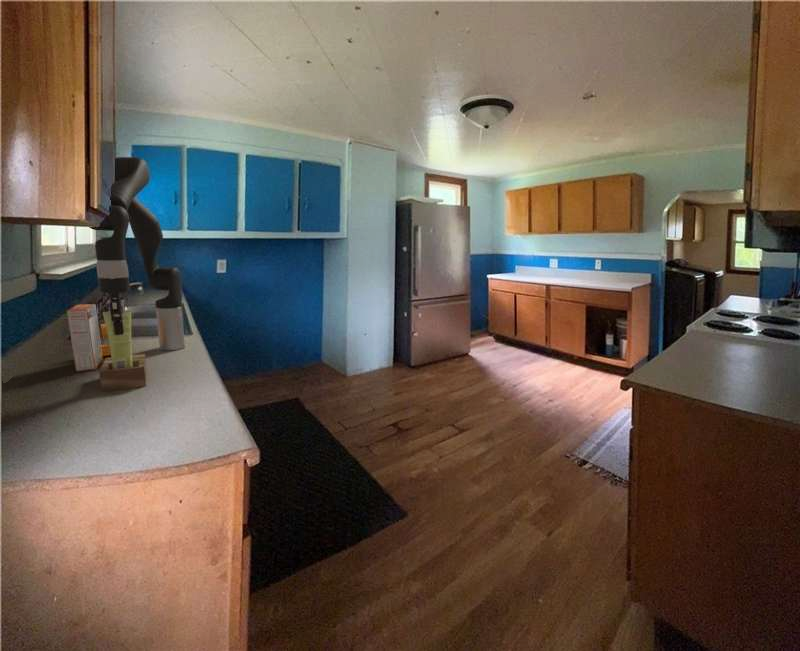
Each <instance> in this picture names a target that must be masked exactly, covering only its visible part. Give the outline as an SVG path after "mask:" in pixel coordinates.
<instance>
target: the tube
mask: <svg viewBox="0 0 800 651" xmlns="http://www.w3.org/2000/svg"><path fill="white" fill-rule="evenodd" d="M102 316H103V318H104V319H103V320H104V324H106V329H107V334H108V338H107V339H108V343H109V344H108V345H110V351H111V356H110V357H112V365H113V369H120V368H129V367H133V365H132V355H133V354H132V353H133V349H132V346H133V345H132V309H125V310H124V314H122V318H123V331H124V333H123V334H122V335H115V333H114V324H113V322H112V320H111V314H110V312H109V311H103V312H102ZM114 317H119V314H115V315H114Z"/></svg>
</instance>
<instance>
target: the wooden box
mask: <svg viewBox="0 0 800 651" xmlns="http://www.w3.org/2000/svg"><path fill="white" fill-rule="evenodd" d="M132 365H133V367H129V368H120V369H113V365H112V357H111V356H109V357H105V358H104V360H103V363H102V365H101V367H100V370H99V380H100V388H101V392H102V393H103V392H104V393H105V392H110V391H117V390H119V391H120V390H126V389H133V388H141V387H142V386H143V387H147V379H148V376H147V375H148V369H147V367H148V366H147V358H146V354H145V353H142V354H132Z"/></svg>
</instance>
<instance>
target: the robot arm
mask: <svg viewBox="0 0 800 651" xmlns="http://www.w3.org/2000/svg"><path fill="white" fill-rule="evenodd" d="M150 172H151V171H150V169H149V166H148V163H147V162H146V161H145V160H144V159H143V158H141V157H135V156H127V157H126V156H121V157H120V156H118V157H117V156H116V159H115V183H113V182H112V183H111V184H112V187H111V197H110V200H111V206H109V212H110V214H109V216H108V217H106V218H105V219H104V220H103V221H102V222H101V223H100V226H99V227H88V228H89V229H91V230H94V231H105V232H106V231H107V232H109V231H110V232H111V231H112V234H111V236H110V237H108V238H107V237H106V238H100V239H97V240H95V244H94V247H95V248H94V250H95V256H96V273H97V280H98V281H97V282H98V291H99V292H100V293H104V294H109V298H107V305H108V312H110V314H111V320H112V322H113V324H114V333H115V335H122V334H123V333H124V331H123V318H122V314H124V310H126V308H125V302H126V300H125V297H123V296H122V293H128V292H130V291H131V284H130V274H129V266H128V264H127V263H128V262H127V257H126V238H127V233H128V229H129V225H130V229H131V231H132V235H133V237H134V239H135V242H136V245H137V246H138V249H139V252H140V255H141V258H142V263H143V268H144V271H145V274H146V278H147V281H148V285H149V286H150V288H151V289H153V290H155V291H168V294H167V295H166V296H165V297H163V298H160V299H159V298H158V299H157V300H156V301H155V302H154V303H155V313H156V315H155V316H156V324H157V333H158V334H157V336H158V345H159V350H160V351H176V350H182V349H185V348H186V345H185V343H186V342H185V332H184V329H185V328H184V319H183V307H182V302H183V297H182V296H183V295H182V276H181V272H180V270H179V269H178V268H177V267H171V266H170V267H169V266H166V267H165V266H163V267H162V266H159V265H158V263H157V255H158V252H159V250H160V247H161V245H162V243H163V239H164V235H163V231H162V227H161V225H160V222H159V219H158V217H156V215H155V214H153V212H152V211H150V210H149V208H147V207H146V206H145V205H144V204H143V203H142V202H140V201H139V199H138V198H137V197H136V196H137V195H138V194H140V192H141V191H143V189H145V187H147V186H148V185H149V182H150V178H151V174H150ZM115 314H119V317H114V315H115ZM181 348H182V349H181Z"/></svg>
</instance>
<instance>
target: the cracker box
mask: <svg viewBox="0 0 800 651" xmlns="http://www.w3.org/2000/svg"><path fill="white" fill-rule="evenodd" d="M96 306H97V305H96V304H95V303H92V304H91V303H89V304H86V303H85V304H76V305H75V306H73V307H71V308H70V309H68V310H66V314H67V316H66V317H67V322H68V328H69V334H70V340H71V347H72V354H73V359H74V360H73V361H74V367H75V372H84V371H85V372H86V371H92V370H93V371H95V370H97V368H98V367H99V365H100V363H102V361H103V358H104V356H102V349H101V345H102V343H101V337H100V336H101V334H100V328H99V327H100V326H99V322H98V321H99V320H98V314H97V307H96Z"/></svg>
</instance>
